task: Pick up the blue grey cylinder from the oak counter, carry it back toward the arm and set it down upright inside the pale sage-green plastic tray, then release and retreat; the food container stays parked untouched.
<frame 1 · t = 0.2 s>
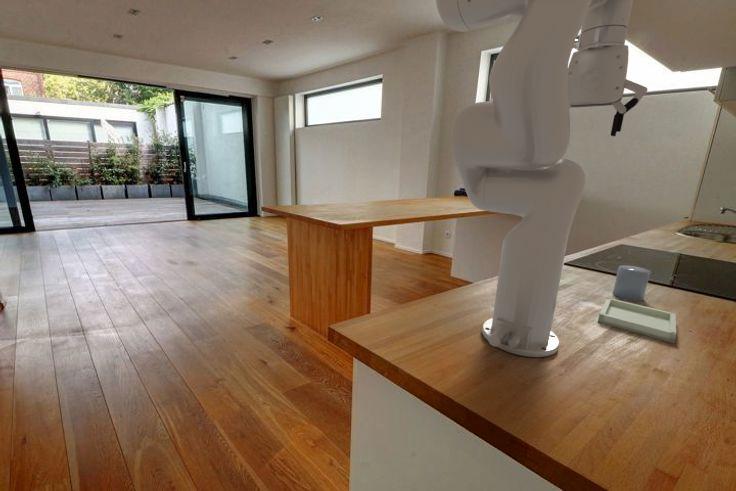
hand: (584, 136, 70), 36 cm above the countertop, tool pointing down, fingers open, 9 cm apart
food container: (538, 286, 88), on the countertop
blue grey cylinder: (627, 296, 82), on the countertop
tray: (635, 321, 69), on the countertop
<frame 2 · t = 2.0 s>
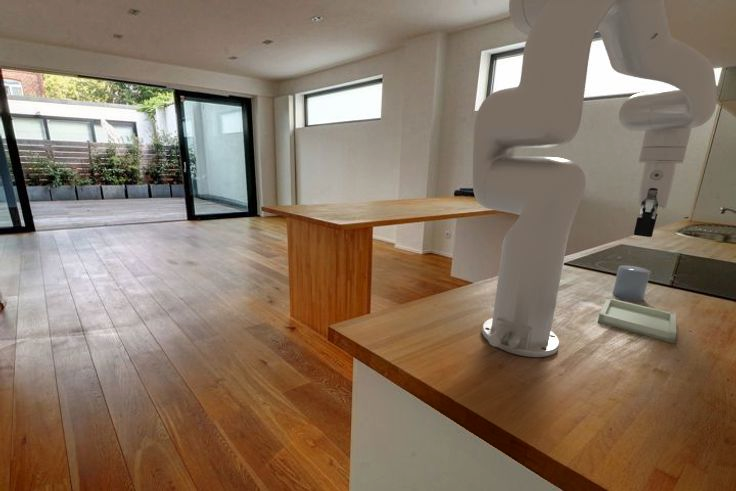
hand: (643, 232, 78), 16 cm above the countertop, tool pointing down, fingers open, 9 cm apart
nothing on the countertop moved.
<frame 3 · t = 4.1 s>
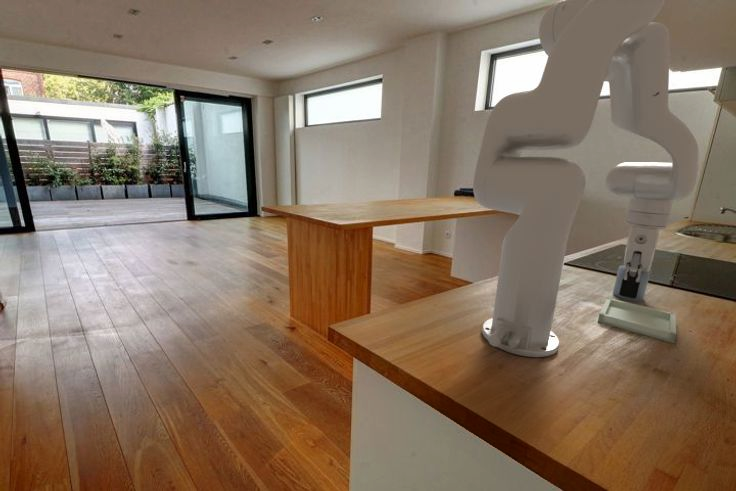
hand: (628, 292, 82), 1 cm above the countertop, tool pointing down, fingers closed on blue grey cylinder, 6 cm apart
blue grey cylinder: (627, 296, 82), on the countertop, touching gripper
everything else where it was.
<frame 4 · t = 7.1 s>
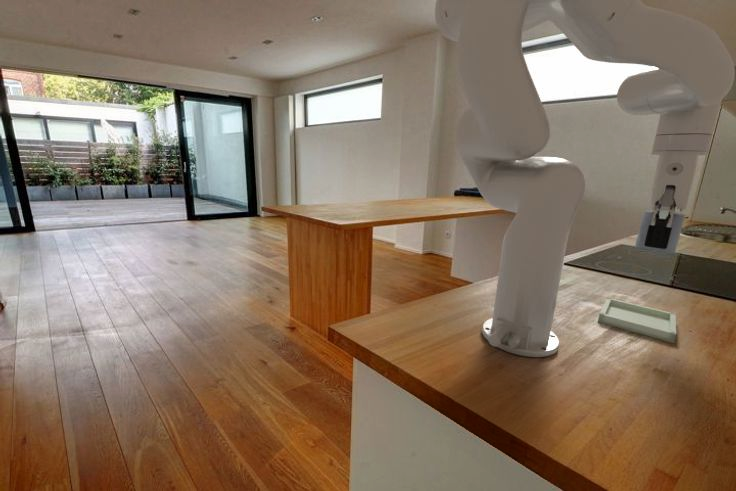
hand: (655, 243, 65), 17 cm above the countertop, tool pointing down, fingers closed on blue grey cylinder, 6 cm apart
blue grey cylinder: (654, 249, 65), point 15 cm above the countertop, touching gripper
everything else where it was.
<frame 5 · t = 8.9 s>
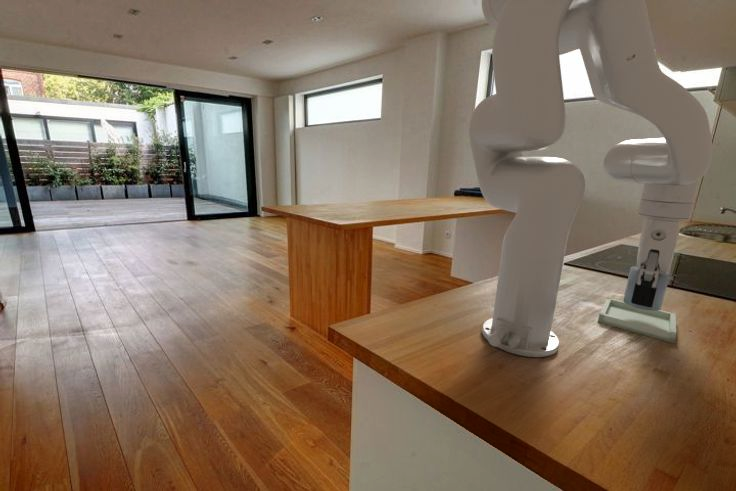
hand: (642, 299, 68), 5 cm above the countertop, tool pointing down, fingers closed on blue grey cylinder, 6 cm apart
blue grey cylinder: (641, 304, 68), point 4 cm above the countertop, touching gripper
everything else where it was.
when the fingers open (3 cm above the countertop, at t = 10.3 s): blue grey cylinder drops 1 cm, resting on tray.
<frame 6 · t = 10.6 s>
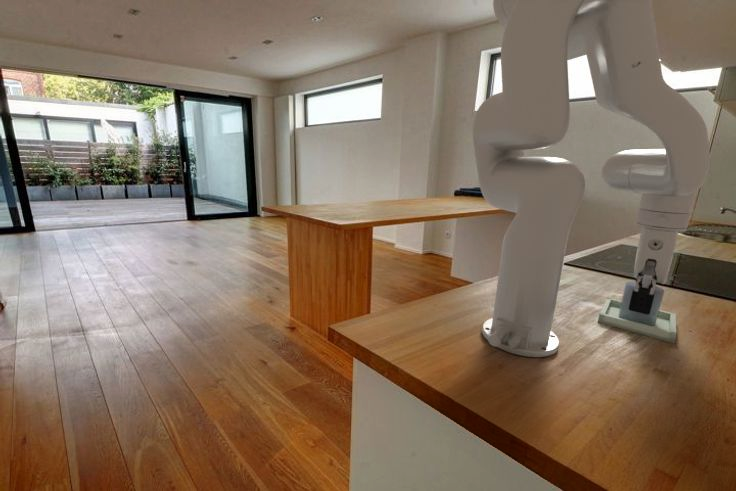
hand: (640, 304, 68), 4 cm above the countertop, tool pointing down, fingers open, 9 cm apart
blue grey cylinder: (636, 319, 69), point 1 cm above the countertop, touching tray
everything else where it was.
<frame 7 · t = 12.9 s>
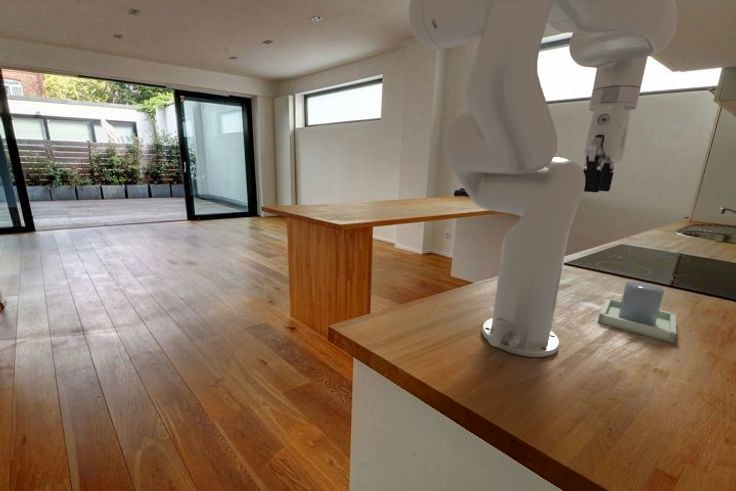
hand: (594, 191, 68), 26 cm above the countertop, tool pointing down, fingers open, 9 cm apart
nothing on the countertop moved.
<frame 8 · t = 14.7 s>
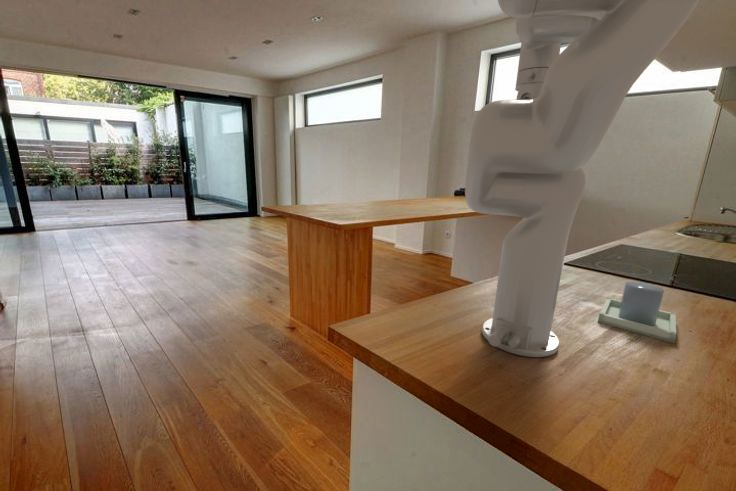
hand: (523, 164, 76), 30 cm above the countertop, tool pointing down, fingers open, 9 cm apart
nothing on the countertop moved.
at the end: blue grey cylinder inside the target area on the tray (0.1 cm from its centre), point 0.6 cm above the tray's base; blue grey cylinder tilted 0°; the gripper is holding nothing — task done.
